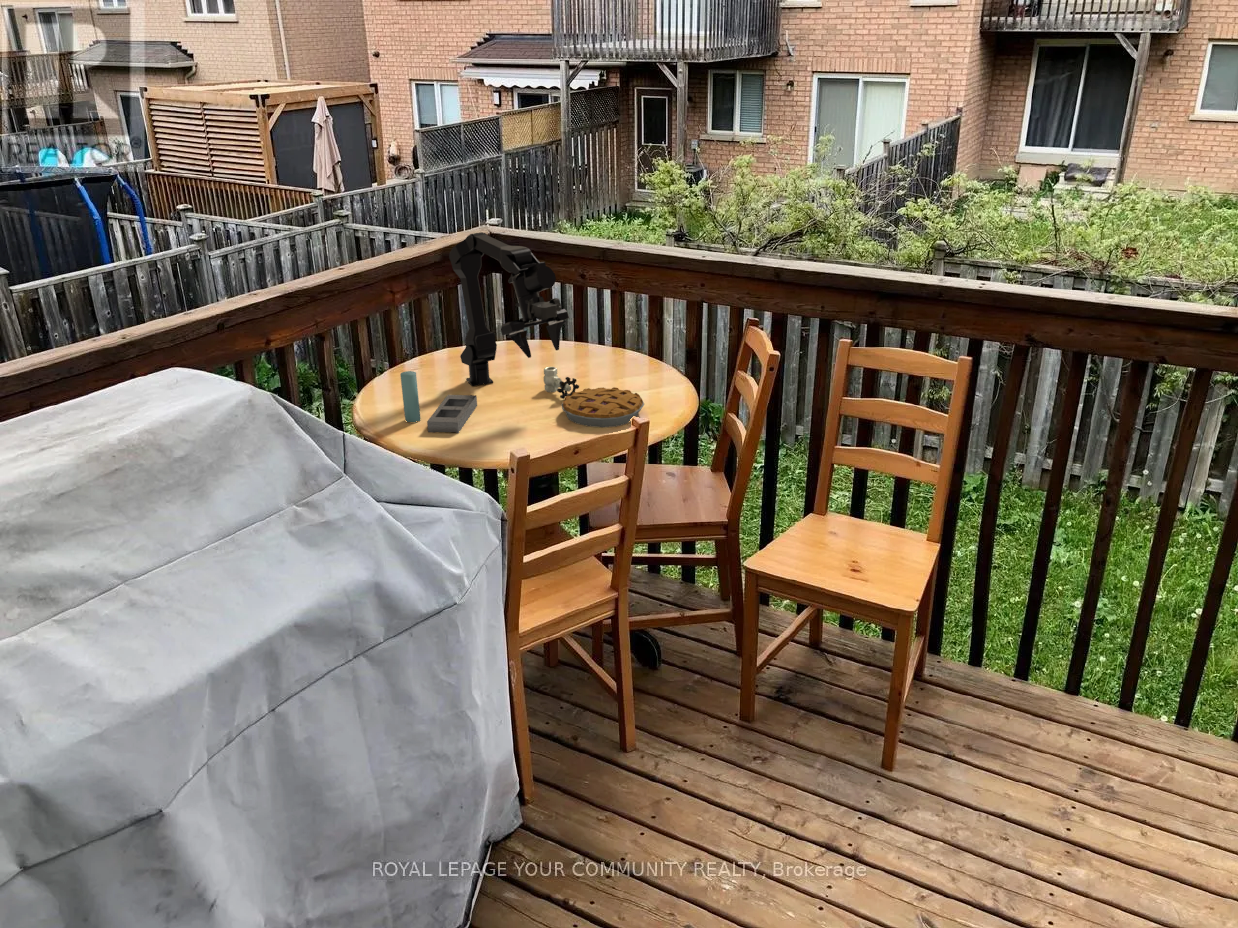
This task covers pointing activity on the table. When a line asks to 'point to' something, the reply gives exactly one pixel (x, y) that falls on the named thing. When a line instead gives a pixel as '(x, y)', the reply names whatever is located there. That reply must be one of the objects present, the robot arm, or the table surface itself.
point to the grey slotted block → (452, 413)
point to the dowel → (410, 396)
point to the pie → (602, 407)
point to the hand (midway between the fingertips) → (543, 353)
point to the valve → (558, 382)
